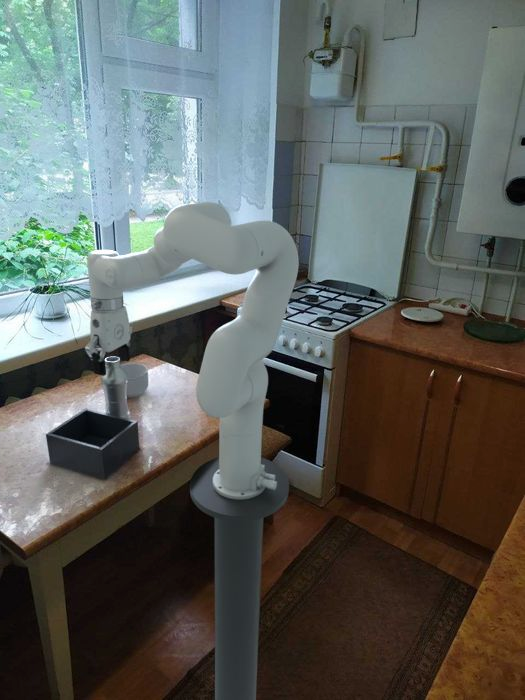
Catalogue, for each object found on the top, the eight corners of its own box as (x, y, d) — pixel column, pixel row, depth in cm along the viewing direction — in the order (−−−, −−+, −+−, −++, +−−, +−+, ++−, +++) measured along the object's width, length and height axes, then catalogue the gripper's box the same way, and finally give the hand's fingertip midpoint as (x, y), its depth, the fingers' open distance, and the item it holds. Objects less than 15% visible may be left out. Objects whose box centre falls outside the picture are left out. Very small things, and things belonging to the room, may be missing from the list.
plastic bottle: (122, 436, 128) (116, 366, 121) (100, 431, 130) (93, 361, 123) (136, 424, 134) (131, 356, 126) (115, 419, 136) (109, 352, 129)
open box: (139, 449, 123) (137, 421, 120) (104, 480, 112) (101, 449, 109) (88, 435, 128) (85, 408, 125) (50, 463, 117) (45, 434, 114)
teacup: (154, 396, 150) (153, 372, 147) (119, 405, 144) (117, 380, 141) (137, 379, 160) (136, 356, 157) (104, 386, 154) (102, 363, 151)
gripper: (96, 315, 110) (103, 383, 117) (141, 295, 125) (144, 357, 132) (69, 309, 113) (77, 377, 119) (116, 291, 128) (120, 352, 134)
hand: (112, 367), depth 126 cm, fingers open, 9 cm apart
